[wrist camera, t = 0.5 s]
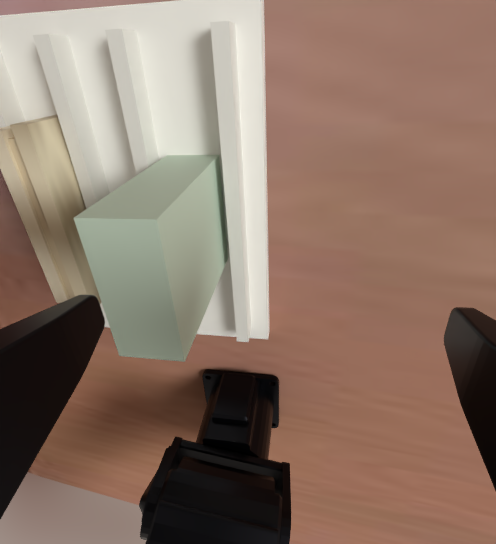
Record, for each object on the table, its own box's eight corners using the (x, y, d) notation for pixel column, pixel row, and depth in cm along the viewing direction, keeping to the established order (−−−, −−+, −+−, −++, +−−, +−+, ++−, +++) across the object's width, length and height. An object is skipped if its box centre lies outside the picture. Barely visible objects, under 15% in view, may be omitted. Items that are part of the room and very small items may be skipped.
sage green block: (228, 258, 22) (184, 361, 15) (183, 256, 23) (119, 355, 15) (218, 154, 19) (156, 219, 11) (167, 155, 19) (73, 217, 12)
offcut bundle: (119, 281, 25) (93, 311, 22) (85, 279, 25) (55, 309, 22) (71, 114, 19) (27, 124, 16) (27, 115, 19) (-24, 125, 16)
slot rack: (269, 330, 26) (265, 354, 24) (89, 317, 28) (72, 338, 26) (263, -3, 16) (256, -13, 14) (-20, 20, 18) (-64, 15, 16)
